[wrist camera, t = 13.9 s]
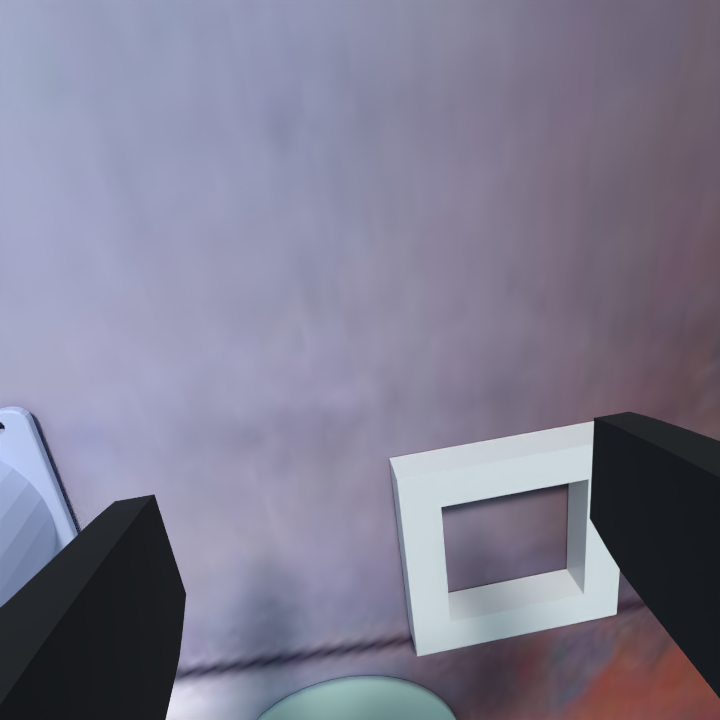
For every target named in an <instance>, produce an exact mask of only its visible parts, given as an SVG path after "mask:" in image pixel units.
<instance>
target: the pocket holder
mask: <svg viewBox="0 0 720 720" xmlns="http://www.w3.org/2000/svg"><path fill="white" fill-rule="evenodd" d="M593 433H594V421H592V422H587V423H581V424H575V425H570V426H564V427H559V428H553V429H548V430H542V431H537V432H531V433H526V434H520V435H515V436H509V437H504V438H498V439H493V440H487V441H482V442H476V443H471V444H465V445H459V446H454V447H448V448H443V449H437V450H432V451H426V452H421V453H415V454H410V455H404V456H399V457H393V458H389V459H390V468H391V476H392V485H393V493H394V501H395V510H396V518H397V527H398V535H399V543H400V552H401V560H402V569H403V577H404V585H405V594H406V602H407V611H408V619H409V627H410V631H411V635H412V638H413V642H414V646H415V649H416V653H417V657H418V656H422V655H427V654H432V653H437V652H441V651H446V650H451V649H456V648H460V647H465V646H470V645H474V644H479V643H484V642H489V641H493V640H498V639H503V638H507V637H512V636H517V635H522V634H526V633H531V632H536V631H541V630H545V629H550V628H555V627H559V626H564V625H569V624H574V623H578V622H583V621H588V620H593V619H597V618H602V617H607V616H611V615H616V613H617V598H618V584H619V570H620V569H619V568H618V566H617V564H616V563H615V561H614V559H613V558H612V556H611V555H610V553H609V551H608V550H607V548H606V546H605V545H604V543H603V541H602V539H601V538H600V536H599V534H598V532H597V531H596V529H595V527H594V525H593V524H592V522H591V520H590V499H591V477H592V455H593ZM566 483H569V488H568V529H567V569H564V570H559V571H554V572H549V573H544V574H539V575H534V576H529V577H524V578H520V579H515V580H510V581H505V582H500V583H495V584H490V585H485V586H480V587H475V588H470V589H465V590H460V591H456V592H451V593H448V586H447V574H446V562H445V549H444V537H443V525H442V512H441V507H445V506H450V505H455V504H461V503H466V502H471V501H476V500H482V499H487V498H492V497H497V496H503V495H508V494H513V493H519V492H524V491H529V490H534V489H540V488H545V487H550V486H555V485H561V484H566Z"/></svg>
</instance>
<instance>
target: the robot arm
mask: <svg viewBox="0 0 720 720" xmlns="http://www.w3.org/2000/svg"><path fill="white" fill-rule="evenodd" d="M0 422H1V423H2V424H3V425H4V426H5V429H0V720H165V719H166V715H167V710H168V706H169V702H170V697H171V693H172V689H173V684H174V680H175V676H176V671H177V666H178V662H179V656H180V648H181V640H182V631H183V621H184V611H185V600H186V592H185V589H184V586H183V583H182V580H181V577H180V574H179V570H178V567H177V564H176V561H175V558H174V555H173V552H172V548H171V545H170V542H169V539H168V536H167V533H166V529H165V526H164V523H163V520H162V517H161V514H160V511H159V507H158V504H157V501H156V498H155V495H149V496H143V497H138V498H132V499H126V500H120V501H115V502H114V503H113V504H111V505H110V506H109V507H108V508H106V509H105V510H104V511H103V512H102V513H101V514H100V515H98V516H97V517H96V518H95V519H94V520H93V521H92V522H91V523H90V524H89V525H88V526H87V527H85V528H84V529H83V530H82V531H81V532H80V533H79V534H78V533H77V530H76V528H75V525H74V523H73V520H72V517H71V515H70V512H69V510H68V507H67V505H66V502H65V500H64V497H63V494H62V492H61V489H60V487H59V484H58V482H57V479H56V477H55V474H54V471H53V469H52V466H51V464H50V461H49V459H48V456H47V454H46V451H45V448H44V446H43V443H42V441H41V438H40V436H39V433H38V430H37V428H36V425H35V423H34V420H33V418H32V416H31V415H30V413H29V412H28V411H26V410H25V409H23V408H20V407H6V408H0ZM590 520H591V522H592V524H593V525H594V527H595V529H596V531H597V532H598V534H599V536H600V538H601V539H602V541H603V543H604V545H605V546H606V548H607V550H608V551H609V553H610V555H611V556H612V558H613V559H614V561H615V563H616V564H617V566H618V568H619V569H620V571H621V572H622V574H623V575H624V576H625V578H626V579H627V580H628V582H629V583H630V584H631V586H632V587H633V588H634V590H635V591H636V592H637V593H638V595H639V596H640V597H641V599H642V600H643V601H644V602H645V604H646V605H647V606H648V608H649V609H650V610H651V612H652V613H653V614H654V615H655V617H656V618H657V619H658V621H659V622H660V623H661V624H662V626H663V627H664V628H665V629H666V631H667V632H668V633H669V635H670V636H671V637H672V638H673V640H674V641H675V642H676V643H677V645H678V646H679V647H680V649H681V650H682V651H683V652H684V654H685V655H686V656H687V657H688V659H689V660H690V661H691V663H692V664H693V665H694V666H695V668H696V669H697V670H698V671H699V673H700V674H701V675H702V677H703V678H704V679H705V680H706V682H707V683H708V684H709V685H710V687H711V688H712V689H713V691H714V692H715V693H716V694H717V696H718V697H719V698H720V441H718V440H715V439H712V438H709V437H706V436H704V435H701V434H698V433H695V432H692V431H690V430H687V429H684V428H681V427H678V426H675V425H672V424H669V423H666V422H663V421H660V420H657V419H654V418H651V417H647V416H644V415H640V414H636V413H632V412H625V413H620V414H614V415H608V416H602V417H597V418H594V433H593V455H592V477H591V499H590Z"/></svg>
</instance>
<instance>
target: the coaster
mask: <svg viewBox="0 0 720 720" xmlns="http://www.w3.org/2000/svg"><path fill="white" fill-rule="evenodd" d="M257 720H456V718H455V716H454V714H453V712H452V711H451V709H450V708H449V706H448V705H447V704H446V703H445V702H444V701H443V700H442V699H441V698H440V697H438V696H437V695H436V694H435V693H433V692H432V691H430V690H428V689H426V688H424V687H423V686H420V685H418V684H415V683H413V682H410V681H406V680H402V679H398V678H393V677H386V676H367V675H365V676H351V677H344V678H338V679H333V680H329V681H325V682H321V683H318V684H315V685H312V686H310V687H307V688H304V689H302V690H300V691H298V692H296V693H293V694H291V695H289V696H288V697H286V698H284V699H283V700H281V701H279V702H278V703H276V704H275V705H273V706H272V707H271V708H270V709H268V710H267V711H266V712H264V713H263V714H262V715H261V716H260V717H259V718H258V719H257Z"/></svg>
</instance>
